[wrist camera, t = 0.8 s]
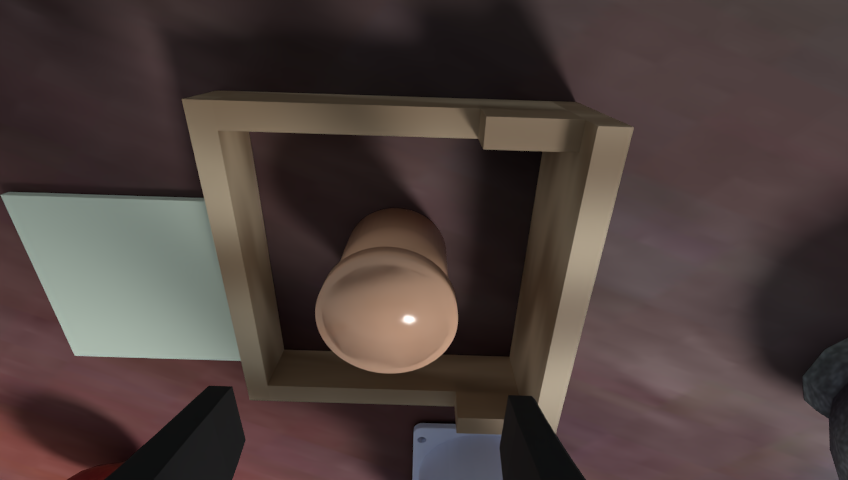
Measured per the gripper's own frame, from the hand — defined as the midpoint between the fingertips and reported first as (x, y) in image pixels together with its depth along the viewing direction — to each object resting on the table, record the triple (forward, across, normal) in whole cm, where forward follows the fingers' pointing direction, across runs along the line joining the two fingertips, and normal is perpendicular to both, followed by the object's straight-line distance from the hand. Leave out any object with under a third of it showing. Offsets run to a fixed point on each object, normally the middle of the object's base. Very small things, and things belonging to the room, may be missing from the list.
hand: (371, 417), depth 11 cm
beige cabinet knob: (+9, 0, 0) cm, 9 cm away
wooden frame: (+9, 0, 0) cm, 9 cm away
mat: (+9, +12, +2) cm, 16 cm away
